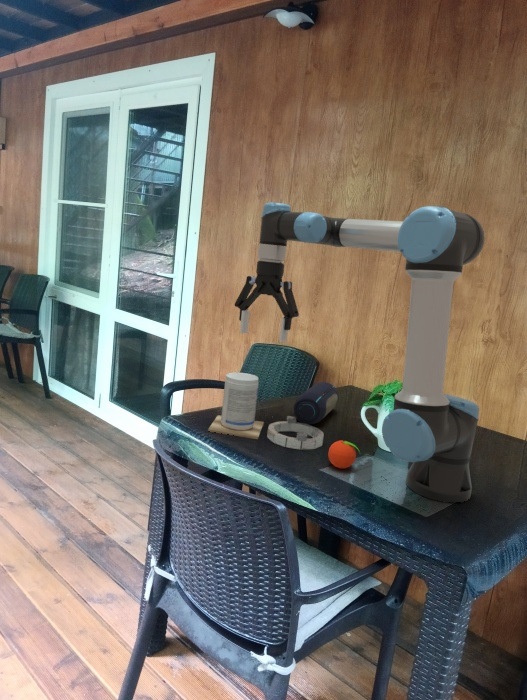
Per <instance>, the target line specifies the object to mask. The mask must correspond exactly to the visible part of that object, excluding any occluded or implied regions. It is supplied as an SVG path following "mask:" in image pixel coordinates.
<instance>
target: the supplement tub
mask: <svg viewBox="0 0 527 700" xmlns="http://www.w3.org/2000/svg"><path fill="white" fill-rule="evenodd" d="M258 391H259V377H258V376H257V375H254V374H252V373H251V374H250V373H247V372H235V371H234V372H229V373H226V375H225V381H224V389H223V396H222V398H223V399H222V409H221V416H222V417H221V423H222V425H223V426H225V427H227V428H230V429H234V430H248V429H251V428H252V427H253V426H254V421H256V420H255V417H256V410H257V402H258V401H257V400H258V393H259V392H258Z"/></svg>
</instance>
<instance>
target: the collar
mask: <svg viewBox="0 0 527 700" xmlns="http://www.w3.org/2000/svg"><path fill="white" fill-rule="evenodd" d="M280 432H293V433H296V437H292V436H287V435H285V434H282V433H280ZM266 433H267V435H266V437H267V439H269V441H270V442H271V443H274V444H275V445H278V446H281V447H284V448H289V449H294V450H295V449H296V450H301V451H302V450H303V451H304V450H316V449H318V448H320V447H321V448H322V446H323V443H324V436H325V435H324V431H322V430H320V429H319V428H318V427H315V426H313V425H312V424H305V423H302V422H297V418H296V416H295V415H294V416H291V415H287V416H286V421H275V422H273V423H269V424H268V428H267V432H266ZM308 436H310V437H312V438H308Z"/></svg>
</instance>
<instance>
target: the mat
mask: <svg viewBox="0 0 527 700" xmlns="http://www.w3.org/2000/svg"><path fill="white" fill-rule="evenodd" d="M221 417H222V414H221V415H220V414H217V415H216V417H215V419H214V420H213V422H212V423H211V425H210V426H209V428H207V432H208V431H210V432H209V433H214V432H216V433H215V434H221V433H222V435H227V434H229V435H228V436H233V435H234V437H241V438H246V439H254V440H259V438H260V435H261V431H262V428H263V427H264V424H265V422H264V421H259V420H254V426H253V427H252V428H251V429H248V430H234V429H230V428H227V427H225V426H223V425H222V423H221Z"/></svg>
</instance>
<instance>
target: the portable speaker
mask: <svg viewBox="0 0 527 700" xmlns="http://www.w3.org/2000/svg"><path fill="white" fill-rule="evenodd" d="M338 403H339V392H338V389H337V388H336V387H335V386H334V385H333V384H332V383H330V382H327V381H319V382H317V383H315V384H314V385H313V386H311V387H309V388H308V389H306V390H305V391H304V392H303V393H301V394H300V395H299V396H298V397H297V398H296V399H295V402H294V404H293V414H294V417H296V420H298V421H299V423H304V424H308V425H316V424H317V423H319V422H321V421H322V420H323V419H324V418H326V416H328V414H329V413H330V412H331V411H332V410H334V408H335V407H336V406H337V405H338Z"/></svg>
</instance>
